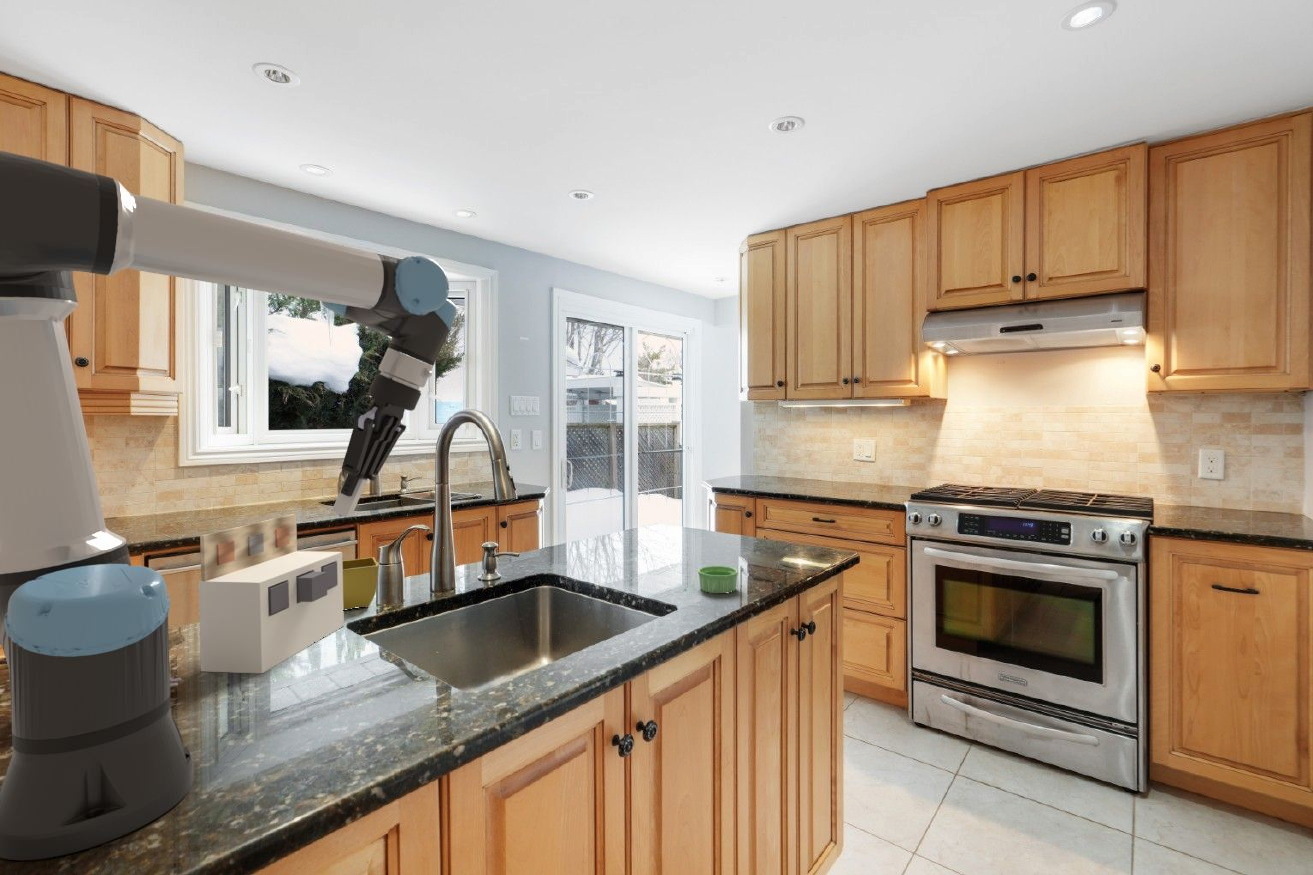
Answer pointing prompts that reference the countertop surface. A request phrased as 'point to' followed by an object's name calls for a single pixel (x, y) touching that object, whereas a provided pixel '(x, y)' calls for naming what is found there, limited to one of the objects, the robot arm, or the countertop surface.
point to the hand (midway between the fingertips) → (341, 513)
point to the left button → (278, 597)
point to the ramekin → (718, 579)
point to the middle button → (311, 586)
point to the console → (265, 614)
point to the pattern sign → (247, 546)
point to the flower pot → (359, 582)
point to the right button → (330, 574)
